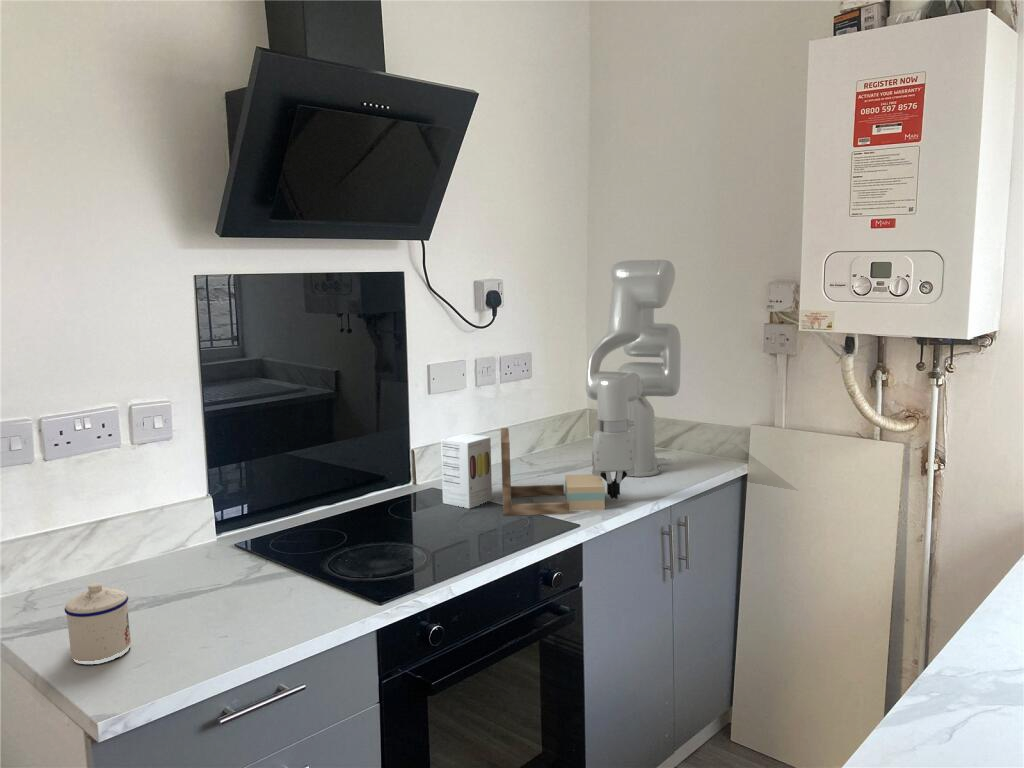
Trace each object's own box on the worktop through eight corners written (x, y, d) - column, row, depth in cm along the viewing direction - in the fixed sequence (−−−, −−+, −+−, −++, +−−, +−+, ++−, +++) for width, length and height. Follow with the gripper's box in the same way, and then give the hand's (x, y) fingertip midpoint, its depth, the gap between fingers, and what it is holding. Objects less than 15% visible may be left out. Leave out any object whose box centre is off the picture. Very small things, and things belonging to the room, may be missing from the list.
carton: (600, 496, 215) (600, 474, 214) (605, 510, 203) (604, 486, 202) (565, 497, 215) (565, 474, 214) (567, 511, 203) (567, 487, 202)
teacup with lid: (142, 652, 133) (135, 583, 132) (82, 673, 127) (74, 600, 125) (113, 630, 142) (106, 565, 140) (55, 649, 135) (47, 581, 134)
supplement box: (469, 509, 206) (467, 443, 204) (441, 503, 212) (439, 439, 209) (493, 500, 214) (491, 436, 211) (466, 495, 219) (463, 432, 217)
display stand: (563, 493, 218) (562, 426, 215) (569, 513, 200) (568, 440, 198) (502, 495, 217) (500, 428, 215) (503, 515, 200) (501, 442, 198)
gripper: (640, 422, 210) (640, 492, 213) (581, 424, 210) (582, 494, 213) (645, 428, 203) (645, 500, 206) (584, 430, 203) (585, 502, 205)
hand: (613, 497), depth 209 cm, fingers closed
